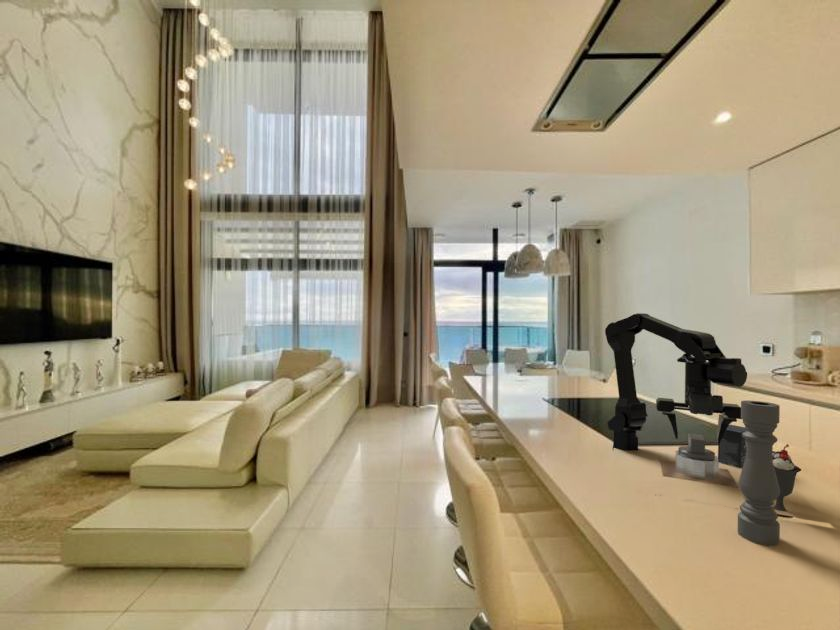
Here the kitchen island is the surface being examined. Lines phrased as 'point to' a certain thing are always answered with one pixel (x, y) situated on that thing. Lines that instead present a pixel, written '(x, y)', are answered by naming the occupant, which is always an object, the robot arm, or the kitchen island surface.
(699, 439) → the lens cap
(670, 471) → the stand
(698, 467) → the toothed hollow cylinder
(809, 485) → the kitchen island surface
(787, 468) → the sundae
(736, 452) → the box
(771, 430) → the candle holder
